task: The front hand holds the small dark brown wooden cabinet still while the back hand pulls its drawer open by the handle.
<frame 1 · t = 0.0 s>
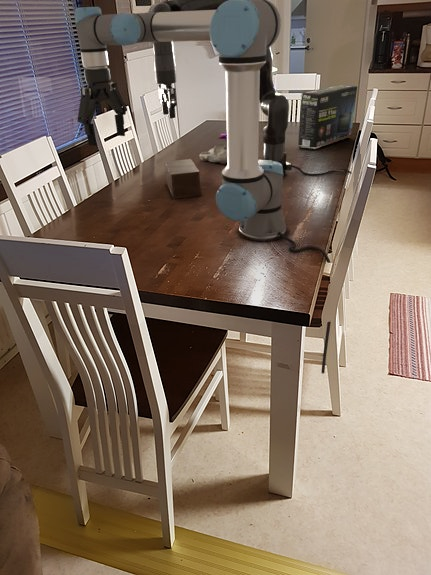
front hand: (107, 140, 148), 28 cm above the table, tool pointing down, fingers open, 13 cm apart
back hand: (169, 116, 172), 29 cm above the table, tool pointing down, fingers open, 8 cm apart
router box: (325, 143, 245), on the table
drawer: (180, 174, 191), point 5 cm above the table, slide at 1.5 cm
cabinet: (183, 189, 188), on the table
fossil: (217, 159, 225), on the table
handgun: (231, 139, 258), on the table
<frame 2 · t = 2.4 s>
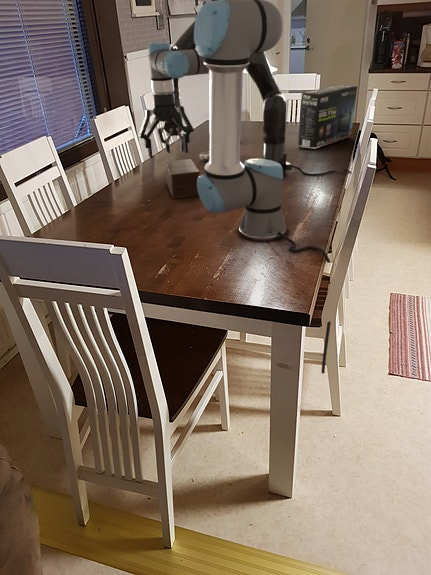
front hand: (168, 154, 170), 18 cm above the table, tool pointing down, fingers open, 13 cm apart
back hand: (175, 151, 194), 12 cm above the table, tool pointing down, fingers open, 5 cm apart
nothing on the table moved.
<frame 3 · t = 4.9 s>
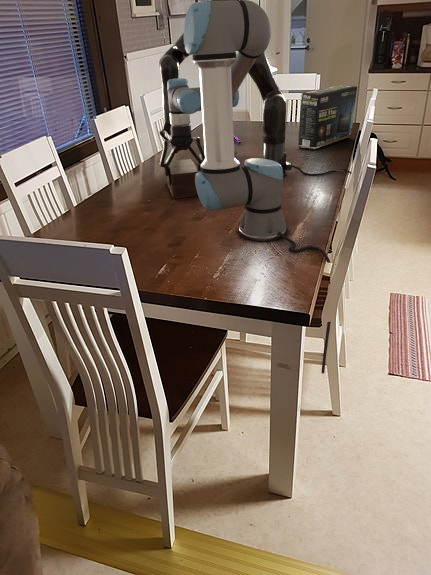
front hand: (184, 182, 181), 5 cm above the table, tool pointing down, fingers closed on cabinet, 11 cm apart
back hand: (175, 152, 195), 12 cm above the table, tool pointing down, fingers closed
cabinet: (183, 189, 188), on the table, touching front hand
everything else where it was.
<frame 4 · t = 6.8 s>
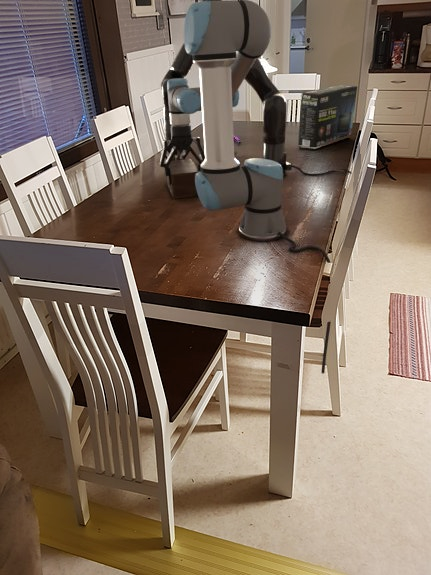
front hand: (184, 182, 181), 5 cm above the table, tool pointing down, fingers closed on cabinet, 11 cm apart
back hand: (176, 171, 199), 3 cm above the table, tool pointing down, fingers closed
drawer: (180, 174, 191), point 5 cm above the table, slide at 1.5 cm, touching back hand
cabinet: (183, 189, 188), on the table, touching front hand
everything else where it was.
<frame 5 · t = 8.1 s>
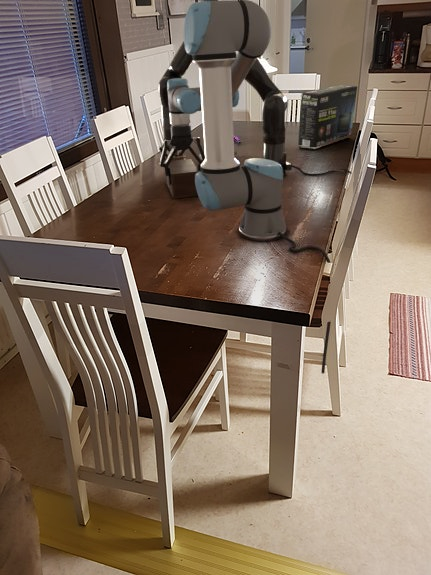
front hand: (184, 182, 181), 5 cm above the table, tool pointing down, fingers closed on cabinet, 11 cm apart
back hand: (174, 167, 205), 3 cm above the table, tool pointing down, fingers closed
drawer: (177, 169, 196), point 5 cm above the table, slide at 8.0 cm, touching back hand
cabinet: (183, 189, 188), on the table, touching front hand
everything else where it was.
when the front hand's fingers open (5 cm above the table, at t = 9.7 s): cabinet stays where it is, on the table.
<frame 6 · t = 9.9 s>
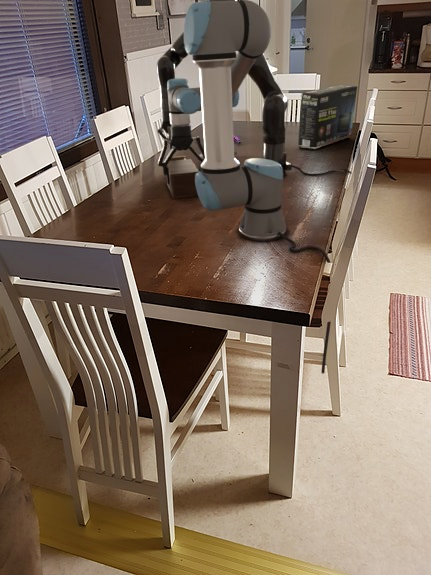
front hand: (184, 181, 181), 5 cm above the table, tool pointing down, fingers open, 12 cm apart
back hand: (173, 150, 201), 11 cm above the table, tool pointing down, fingers closed
drawer: (177, 169, 196), point 5 cm above the table, slide at 8.0 cm
cabinet: (183, 189, 188), on the table
everything else where it was.
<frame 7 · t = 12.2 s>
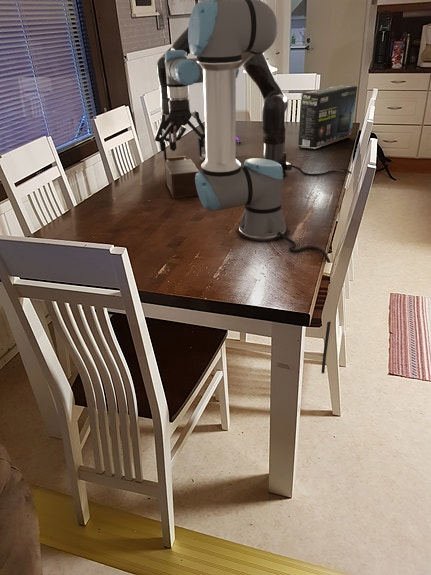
front hand: (182, 157, 176), 15 cm above the table, tool pointing down, fingers open, 13 cm apart
back hand: (173, 150, 201), 11 cm above the table, tool pointing down, fingers closed
nothing on the table moved.
at the end: drawer slide at 8.0 cm; cabinet tilted 0°; cabinet never tilted more than 1° during the clip; cabinet moved 0.1 cm from its start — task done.
